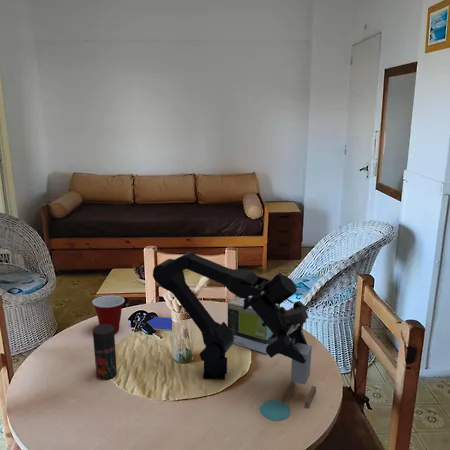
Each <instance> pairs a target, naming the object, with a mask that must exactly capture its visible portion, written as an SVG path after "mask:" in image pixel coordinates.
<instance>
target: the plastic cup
mask: <svg viewBox="0 0 450 450" xmlns="http://www.w3.org/2000/svg"><path fill="white" fill-rule="evenodd" d="M124 303H125V298H124V297H122V296H118V295H103V296H99V297H96V298H94V299H93V300H92V305H93V307H94V309H95V312H96V316H97V321H98V325H102V324H109V325H112V326H113V327H114V335H116V334H117V333H119V330H120V324H121V319H122V310H123V305H124Z"/></svg>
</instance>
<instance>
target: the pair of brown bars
mask: <svg viewBox="0 0 450 450" xmlns="http://www.w3.org/2000/svg"><path fill="white" fill-rule="evenodd" d="M295 383H296V382H293V381H291V380H289V383H288V385H287V386H286V389H285V390H284V392H283V394H282V397H281V402H284V403H288V399H289V398H290V396H291V393H292V391H293V390H294V388H295V386H296V385H295ZM316 392H317V386H315V385H311V387H310V390H309V391H308V394H307V396H306V399H305V401H304V408H306V409H310V407H311V404H312V402H313V399H314V398H315V397H314V396H315V394H316Z"/></svg>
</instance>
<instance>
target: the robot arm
mask: <svg viewBox="0 0 450 450" xmlns="http://www.w3.org/2000/svg"><path fill="white" fill-rule="evenodd" d="M186 270H188V271H191V272H193V273H196V274H197V275H199V276H202V277H205V278H208V279H209V280H211V281H214V282H215V283H219V284H221V285H223V286H224V287H225V288H226V289H227V291H228V292H230V293H231V294H233V295H235V296H236V297H237V296H238V297H239V298H243V299H244V307H243V309H244V310H246V309H247V308H248V307H250V306H251V308H252V309H253V310H254V311H255V312H256V314H257V315H258V316H259V317H260V318H261V320H262V321H263V323H262V326H263V327H265V326H267V327H268V328H269V329H270V330H271V332H272V333H273V334H272V336H271V337H272V338H273V340H272V341H270V343H269V344H268V346H267V347H266V354H267V355H268V356H269V358H273V357H274V356H276V355H278V354H280V355H282V356H284V357H287V358H289V359H291V360H292V359H294V360H296V361H298V362H300V363H302V364H303V363H305V359H304V358H303V356H302V355H301V353H300V352H299V350H298V349H297V347H296V344H297V343H301V344H306V345H309V344H308V342H307V340H306V338H305V335H304V332H303V331H304V330H303V329H304V328H303V327H304V324H306V322H307V319H308V318H309V315H308V312H307V310H308V307H307V306H305V304H303V303H302V302H301V300H298V301H295V302H294V303H293V306H292V307H290V309H286V308H285V307H283V306H281V304H282V303H284V302H285V301H287V300H288V299H290V298H291V297H293V296H294V295H295V294H296V293H297V289H298V288H297V286H296V284H295V282H294V281H293V280H292V278H290V277H288V275H287V276H286V275H283V274H282V272H280V271H279V272H277V273H276V274H275V276H273V278H271V279H268V278H265V277H262V276H259V275H257V274H256V273H255V272H252V271H249V270H245V269H241V268H239V269H238V268H237V269H236V268H233V269H232V268H229V267H227V266H224V265H221V264H219V263H217V262H215V261H212V260H210V259H208V258H205V257H202V256H200V255H197V254H196V253H195V252H192V251H187V252H186V253H184V254H182V255H180V256H179V257H177V258H173V259H172V258H168V259H166V260H164V261H162V262H161V263H159V264H157V265H155V266H154V268H153V270H152V277H153V279H154V281H155V282H156V283H157V284H158V285H159V286H160V287H161V288H163V289H164V290H166V291H169V292H170V293H172V294H173V296H174V297H175V299H176V300H177V301H178V302H179V304H180V305H181V307H182V308H183V309H184V311H186V313H187V315H189V317H190V318H191V320H192V321H193V323H194V324H195V325H196V326H197V328H198V329H199V330H200V332H201V336H202V341H203V345H204V346H205V347H204V348H203V349H202V350H201V351H200V353H199V358H200V361H201V362H202V361H203V373H202V380H225V379H226V375H227V374H228V357H226V354H227V352H228V351H229V350H230V349H231V347H232V346H233V345H234V343H233V342H234V337H233V335H232V333H233V332H232V331H231V330H230V329H229V328H228V324H227V323H225V321H223V322H222V323H219V322H217V321H216V320H214V318H213V317H212V316H211V315H210V313H209V312H208V310H207V309H206V308H205V306H204V305H203V304H202V302H201V301H200V300H199V299H198V297H197V295H195V293H194V292H193V290H192V289H191V288H190V286H189V285H188V284H187V282H186V278H185V272H184V271H186ZM249 296H252V297H249ZM276 304H280V308H279V307H278V306H277V305H276ZM274 338H275V339H274Z"/></svg>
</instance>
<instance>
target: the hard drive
mask: <svg viewBox="0 0 450 450" xmlns="http://www.w3.org/2000/svg"><path fill="white" fill-rule="evenodd" d="M153 317H154V318H153V319H151V320H149V321H147V323H148V324H149V325H150V326H151V327H152V328H153V329H154V330H153V331H168V332H173V331H172V320H171V318H172V317H162V316H161V317H160V316H159V317H158V316H153ZM138 327H139V325H138V326H137V328H138Z"/></svg>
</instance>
